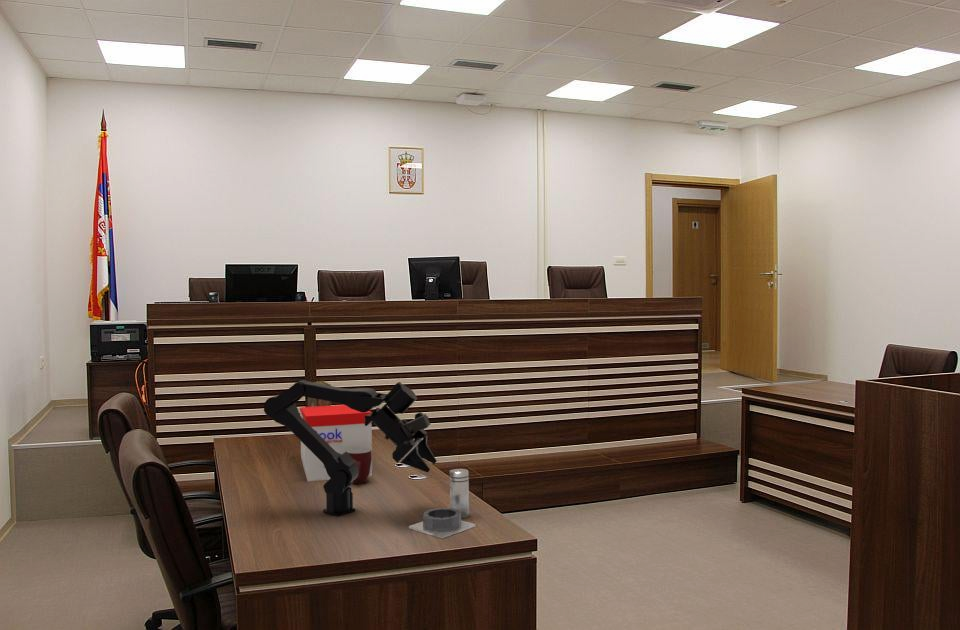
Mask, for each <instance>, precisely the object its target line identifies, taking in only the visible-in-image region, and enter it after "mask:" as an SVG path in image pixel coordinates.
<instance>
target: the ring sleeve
mask: <svg viewBox="0 0 960 630" xmlns="http://www.w3.org/2000/svg"><path fill="white" fill-rule="evenodd" d="M475 527H476V523H473V522H468V521H465V520H463V519H462V518H461V512H460V511H459V510H456V509H452V508H450V507H438V508H436V507H435V508H431V509H427V510H425V511H424V512H423V513H422V521H420V522H417V523H414V524H411V525H408V529H410V530H413V531H416V532H419V533H422V534H426V535H429V536H432V537H435V538H437V539H445V538H448V537H452V536H453V535H456V534H459V533H461V532H464V531H468V530H470V529H473V528H475Z"/></svg>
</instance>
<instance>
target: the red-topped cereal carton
mask: <svg viewBox="0 0 960 630" xmlns="http://www.w3.org/2000/svg"><path fill="white" fill-rule="evenodd" d="M372 412H373V411H371V410H369V411H368V412H359V411H356V410H354V409H351V408H349V407H347V406H346V405H344V404H336V405H332V404H331V406H315V407H308V406H300V407H299V414H300V416H301V417H302V418H303V419H304V420H305V421H306V422H307V423H308V424H309V425H310V426H311V427H312V428H313V429H314V430H315V431H316V432H317V433H318V434H319V435H320V436H321V437H322V438H323V439H324V440H325V441H326V442H327V443H328V444H329V445H330V446H331V447H332V448H333V449H334V450H335V451H336V452H338V453H340V454H343V453H345V452H346V450H348V449H353V448H369V449H371V451H372V452H373V442H372V441H373V436H372V435H373V434H372V432H373V431H372V426H373V425H372V423H373V422H371V423H370V424H369V425H367V426H365V415H367V414H369V415H370V414H371V413H372ZM300 458H301V463H302V466H303V470H304V473H305V477H306V481H307V482H317V481H328V480H329V479H330V477H329V475H328V474H327V472H326V469H325V466H324V464H323V463H322V462H321V461H320V460H319V459H318V458H317V457H316V456H315V455H314V454H313V453H312V452H311V451H310V450H309V449H308V448H307V447H306V446H305V445H304V444H303V443H302V442H301V441H300ZM372 476H373V459H372V460H371V466H370V473H369V476H368V477H372Z"/></svg>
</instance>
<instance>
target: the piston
mask: <svg viewBox="0 0 960 630" xmlns="http://www.w3.org/2000/svg"><path fill="white" fill-rule="evenodd" d="M469 480H470V478H469V470H468V469H466V468H453V469H450V470H449V508H452V509H456V510H459V511H460V512H461V519H465V518H468V517H469V516H470V497H469V496H470V493H469V491H470V487H469V486H470V485H469V484H470V483H469Z"/></svg>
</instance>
